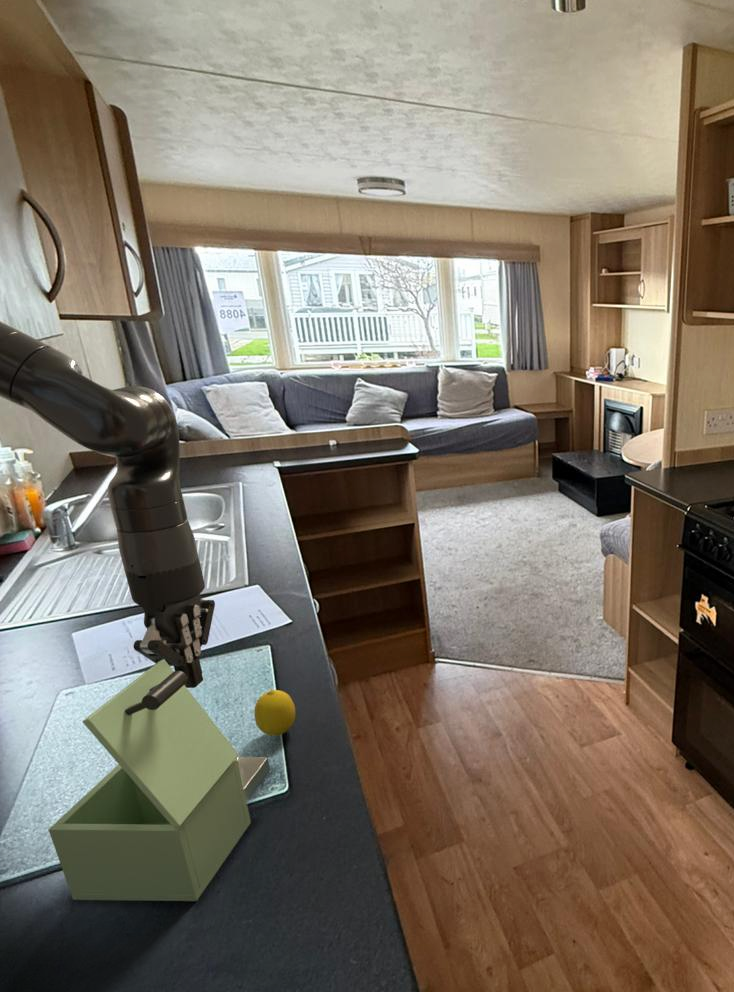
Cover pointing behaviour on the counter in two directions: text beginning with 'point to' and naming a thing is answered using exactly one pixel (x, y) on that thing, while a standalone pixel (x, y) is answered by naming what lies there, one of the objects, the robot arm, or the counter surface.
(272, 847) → the counter surface
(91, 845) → the green lidded box
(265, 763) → the switch block
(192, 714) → the lid
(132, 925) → the counter surface
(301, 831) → the counter surface
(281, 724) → the lemon
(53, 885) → the counter surface
